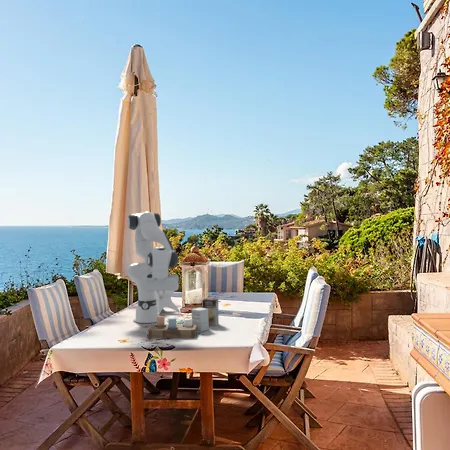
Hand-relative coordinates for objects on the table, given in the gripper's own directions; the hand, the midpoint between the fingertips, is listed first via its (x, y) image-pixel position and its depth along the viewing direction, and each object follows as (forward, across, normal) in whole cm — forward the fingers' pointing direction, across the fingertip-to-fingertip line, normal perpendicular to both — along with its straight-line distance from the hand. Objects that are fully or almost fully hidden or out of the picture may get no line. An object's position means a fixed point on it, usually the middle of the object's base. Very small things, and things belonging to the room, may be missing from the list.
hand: (161, 298), depth 289 cm
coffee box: (+21, -27, -24) cm, 42 cm away
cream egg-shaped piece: (+18, -15, +1) cm, 24 cm away
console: (+21, -8, +4) cm, 22 cm away
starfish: (+22, +14, -75) cm, 79 cm away
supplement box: (+21, -22, -9) cm, 31 cm away
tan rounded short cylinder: (+17, +1, 0) cm, 17 cm away
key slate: (+16, -7, +8) cm, 20 cm away
